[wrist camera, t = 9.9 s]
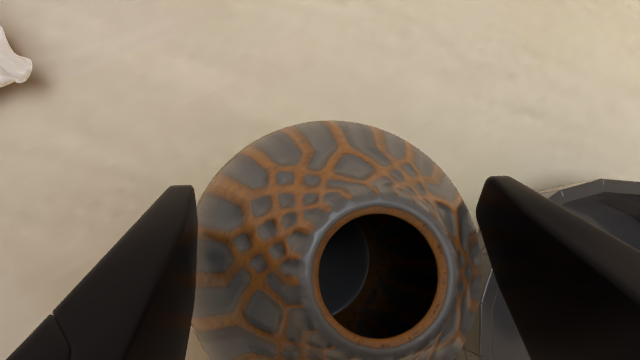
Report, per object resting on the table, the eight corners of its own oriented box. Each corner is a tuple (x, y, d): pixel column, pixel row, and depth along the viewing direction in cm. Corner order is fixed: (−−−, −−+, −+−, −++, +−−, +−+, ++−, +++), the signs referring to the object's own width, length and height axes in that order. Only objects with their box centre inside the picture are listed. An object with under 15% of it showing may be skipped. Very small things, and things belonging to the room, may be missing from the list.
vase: (349, 410, 15) (478, 638, 6) (157, 299, 15) (17, 379, 6) (448, 221, 16) (668, 194, 8) (274, 114, 16) (297, -41, 7)
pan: (731, 416, 24) (804, 442, 21) (492, 506, 22) (533, 552, 18) (650, 161, 25) (707, 150, 22) (416, 224, 23) (441, 221, 20)
